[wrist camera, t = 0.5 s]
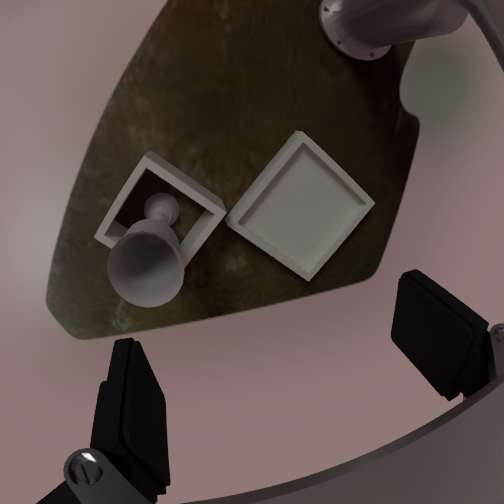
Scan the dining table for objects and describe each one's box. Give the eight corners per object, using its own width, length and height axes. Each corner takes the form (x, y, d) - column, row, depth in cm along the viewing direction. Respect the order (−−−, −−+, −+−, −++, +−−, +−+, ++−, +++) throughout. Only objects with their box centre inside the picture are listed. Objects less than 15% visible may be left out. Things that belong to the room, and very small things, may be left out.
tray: (296, 130, 40) (302, 131, 38) (366, 198, 46) (375, 202, 44) (224, 219, 44) (226, 224, 41) (303, 274, 50) (308, 281, 48)
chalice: (185, 235, 43) (185, 307, 27) (138, 235, 42) (112, 306, 26) (186, 184, 40) (184, 231, 24) (137, 184, 39) (103, 231, 23)
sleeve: (150, 150, 38) (144, 155, 32) (221, 199, 42) (226, 212, 37) (105, 221, 40) (93, 237, 35) (173, 264, 45) (171, 285, 40)
